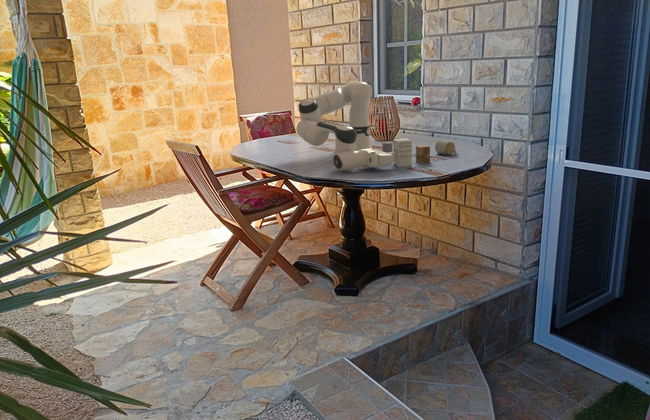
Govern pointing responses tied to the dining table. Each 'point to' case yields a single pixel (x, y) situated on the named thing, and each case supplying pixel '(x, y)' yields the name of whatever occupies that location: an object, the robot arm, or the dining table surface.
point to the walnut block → (423, 154)
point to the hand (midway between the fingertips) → (393, 154)
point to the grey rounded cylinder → (387, 146)
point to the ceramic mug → (445, 147)
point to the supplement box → (402, 152)
